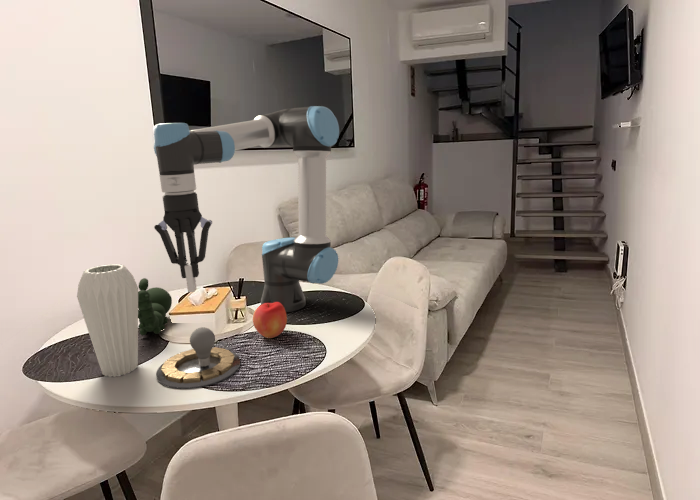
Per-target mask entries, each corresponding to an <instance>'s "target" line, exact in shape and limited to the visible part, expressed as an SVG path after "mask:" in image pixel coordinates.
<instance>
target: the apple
mask: <svg viewBox="0 0 700 500" xmlns="http://www.w3.org/2000/svg"><path fill="white" fill-rule="evenodd" d="M252 324H253V327H254V329H255V330H256V331H257V333H258V334H260V335H261V336H262V337H264V338H266V339H273V338H275V337H278V336H279V335H281V334H282V333H283V332H284V330H285V329H286V326H287V324H288V316H287V312H286V311H285V309H284V307H283V305H282V304H281V303H280V302H274V303H264V304H262V305H261V304H260V305H259V306H258V307H257V308H256V309H255V311H253V315H252Z"/></svg>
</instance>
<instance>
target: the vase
mask: <svg viewBox="0 0 700 500" xmlns="http://www.w3.org/2000/svg"><path fill="white" fill-rule="evenodd" d="M82 272H83V273H82V275H81V277H80V279H79V282H78V286H77V294H76V298H77V300H78V304H79V307H80V310H81V314H82V317H83V319H84V323H85V325H86V329H87V332H88V334H89V338H90V340H91V343H92V346H93V349H94V352H95V355H96V356H95V357H96V358H97V362H98V365H99V367H100V371H101V373H102V376H104V377H108V378H111V377H113V378H116V377H121V376H122V375H124V376H125V375H127V374H131V372H133V371H135V370H136V369H137V368H138V363H139V362H138V361H139V360H138V359H139V357H138V356H139V355H138V353H139V327H138V326H139V318H138V292H139V285H138V284H137V281H136V280H135V277H134V275H133V274H132V272H131V271H130V270H129V269H128V268H127V267H126V266H125V265H124V264H117V263H115V264H104V265H98V266H93V267H89V268H88V269H87V268H86V269H85V270H84V271H82Z"/></svg>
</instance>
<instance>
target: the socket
mask: <svg viewBox="0 0 700 500" xmlns="http://www.w3.org/2000/svg"><path fill="white" fill-rule="evenodd" d="M240 366H241V359H240V357H239V355H237V353H235V352H233V351H230V350H229V349H226V348H222V347H216V346H213V347H212V349H211V354H210V364H209V365H208V366H206V367H203V366H200V365H199V358H198V357H197V353H196V352H195V350H194V349H193V348H191V349H188V350H185V351H181V352H179V353H176V354H174V355H173V356H171V357H169V358H168V359H166V360H165V361H164V362H163V363H162V364H161V365H160V366H158V369H157V370H156V373H155V377H156V380H157V382H158V383H159V384H161V385H162V386H163V387H166V388H171V389H177V390H179V389H180V390H182V389H183V390H189V389H197V388H203V387H207V386H211V385H214V384H217V383H220V382H222V381H224V380H227V379H228V378H230V377H232V376H233V375H235V373H236V372H237V371H238V370H239V368H240Z"/></svg>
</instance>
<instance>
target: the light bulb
mask: <svg viewBox="0 0 700 500" xmlns="http://www.w3.org/2000/svg"><path fill="white" fill-rule="evenodd" d="M189 343H190V346H191V349H194V350H195V352H196V353H197V357H198V358H199V365H200V366H203V367H206V366H208V365H209V364H210V354H211V349H212V348H214V345H215V343H216V336H215V333H214V332H213V330H211V329H210V328H208V327H202V326H201V327H198V328H196V329H195V330H194V331H192V333H191V335H190V337H189Z"/></svg>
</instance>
